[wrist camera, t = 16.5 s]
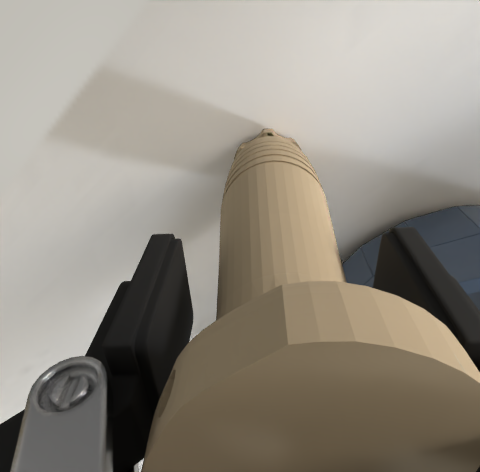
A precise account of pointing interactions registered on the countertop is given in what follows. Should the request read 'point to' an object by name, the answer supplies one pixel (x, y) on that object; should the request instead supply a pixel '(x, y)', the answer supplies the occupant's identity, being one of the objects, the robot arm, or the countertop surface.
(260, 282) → the handle
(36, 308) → the countertop surface
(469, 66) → the countertop surface
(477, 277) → the bowl
